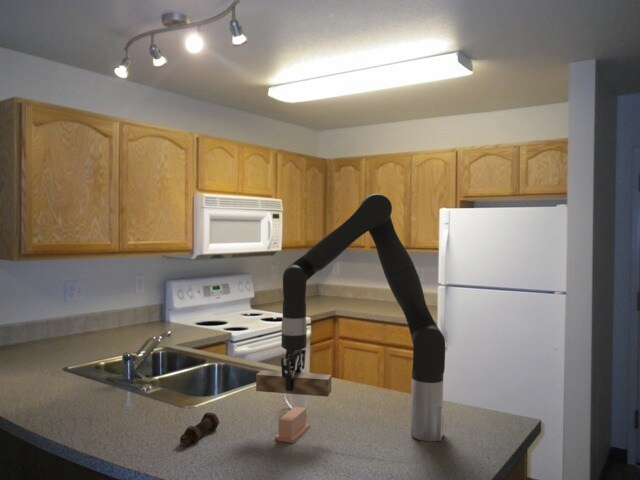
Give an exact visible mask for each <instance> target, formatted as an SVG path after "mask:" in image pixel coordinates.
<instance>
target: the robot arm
mask: <svg viewBox="0 0 640 480" xmlns="http://www.w3.org/2000/svg"><path fill="white" fill-rule="evenodd" d="M392 206H393V205H392V202H391V200H390V199H389V198H388V197H386V196H385V195H383V194H380V193H374V194H370V195H368V196H367V197H365V198H364V199H363V200H362V201H361V203H360V206H358V208H357V210H356V211H354V213H353V214H352V215H351V216H350V217H349V218H347V220H346V221H344V222H343V223H342V224H341V225H339V226H337V228H336V229H334V230H333V231H331V232H330V233H328V234H327V235H325V236H324V237H323V238H322V239H321V240H319V241H318V242H317V243H315V244H314V245H313V246H312V247H311V248H310V249H309V250H307V252H305V253H304V254H303V255H302V256H301V257H299V258H298V259H296V260H294V262H292V263H291V264H290V265H288V267H286V268H285V270H284V272H283V274H282V292H283V293H282V296H283V302H282V319H281V345H280V346H281V347H282V349H284V350H286V351H285V356H284V358H283V357H281V358H280V365H281V372H282V377H283V378H286V391H293V383H294V372H295V373H303V370H305V365H306V354H307V353H306V351H307V350H306V348H307V336H308V335H307V334H308V333H307V331H308V330H307V329H308V328H307V327H308V326H307V325H308V322H307V302H306V294H307V293H306V292H307V281H308V280H310V279H311V278H312V277H313V276H314V275H315V274H316V273H318V272H320V271H322V270H323V269H325V268H326V267H327V266H329V264H331V263H332V262H333V261H334V260H335V259H337V258H338V257H339V256H340V255H341V254H343V252H344V251H345V250H347V248H349V247H350V246H351V245H352V244H353V243H354V242H355V241H356V240H358V239H359V238H361V237H362V236H363V235H364V234H367V232H369V235H370V237H371V238H372V241H373V243H374V246H375V249H376V251H377V255H378V259H379V262H380V264H381V268H382V270H383V273H384V276H385V279H386V281H387V284H388V286H389V288H390V290H391V292H392V295H393V296H394V298H395V300H396V303H398V306H399V307H400V309H401V311H403V312H402V313H403V316H404V317H405V319H406V323H407V326H408V329H409V333H410V337H411V342H412V346H413V347H412V348H413V349H412V350H413V351H412V367H411V406H410V407H411V410H410V411H411V412H410V414H411V415H410V416H411V417H410V435H411V437H412V438H414V439H416V440H419V441H423V442H442V440H443V436H444V423H445V422H444V419H445V418H444V417H445V415H444V413H445V411H444V410H445V404H444V374H445V367H446V339H445V336H444V334H443V332H442V331H441V330H440V328H439V326H437V323H436V322H435V319H434V318H433V317H432V314H431V312H430V310H429V308H428V306H427V303H426V299H425V293H424V289H423V286H422V283H421V279H420V277H419V274H418V271H417V269H416V266H415V264H414V262H413V259H412V258H411V256H410V254H409V253H408V251H407V249H406V248H405V246H404V245H403V242H402V241H401V240H400V238H399V236H398V234H397V232H396V230H395V227H394V224H393V220H392V217H391V215H392V212H393V207H392Z"/></svg>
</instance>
